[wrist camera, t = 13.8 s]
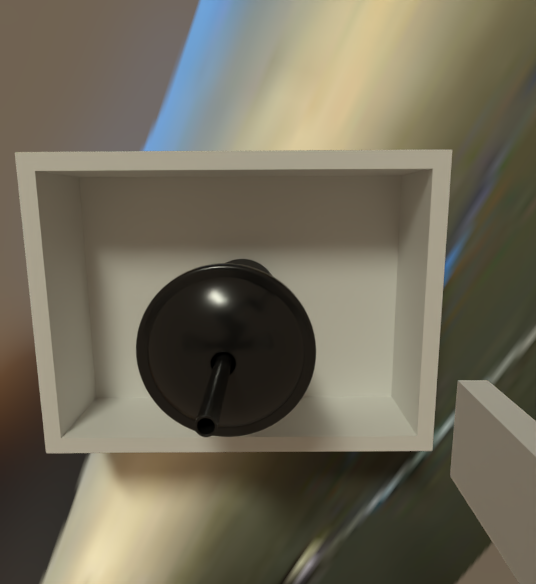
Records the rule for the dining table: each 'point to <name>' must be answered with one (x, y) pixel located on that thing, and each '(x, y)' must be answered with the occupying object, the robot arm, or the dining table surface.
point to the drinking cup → (226, 349)
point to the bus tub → (226, 247)
